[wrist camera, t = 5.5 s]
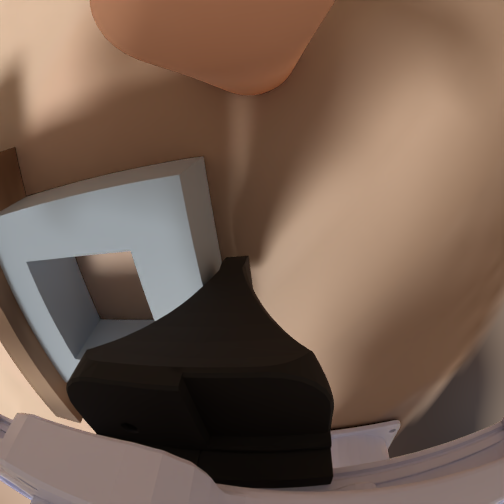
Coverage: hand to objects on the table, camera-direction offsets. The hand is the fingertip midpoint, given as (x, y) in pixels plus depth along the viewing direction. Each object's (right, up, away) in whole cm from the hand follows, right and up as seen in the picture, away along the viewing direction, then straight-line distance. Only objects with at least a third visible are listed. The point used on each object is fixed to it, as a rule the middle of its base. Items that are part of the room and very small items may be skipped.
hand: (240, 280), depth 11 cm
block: (-5, 0, +1) cm, 5 cm away
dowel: (0, +8, -3) cm, 8 cm away
